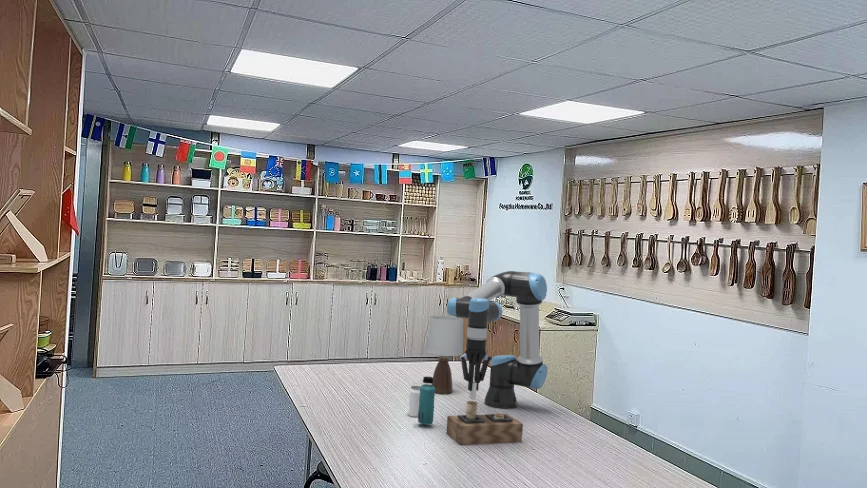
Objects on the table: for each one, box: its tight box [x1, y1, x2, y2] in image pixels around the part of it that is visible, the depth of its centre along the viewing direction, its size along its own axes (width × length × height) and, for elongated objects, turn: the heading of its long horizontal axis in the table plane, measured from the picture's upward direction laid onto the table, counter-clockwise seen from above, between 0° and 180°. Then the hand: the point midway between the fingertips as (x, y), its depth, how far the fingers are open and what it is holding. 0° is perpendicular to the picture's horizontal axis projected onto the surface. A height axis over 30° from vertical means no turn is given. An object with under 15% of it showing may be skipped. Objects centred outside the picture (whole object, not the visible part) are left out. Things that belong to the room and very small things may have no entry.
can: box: [407, 385, 421, 418], centre depth 281 cm, size 6×6×12 cm
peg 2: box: [493, 413, 504, 419], centre depth 258 cm, size 4×4×8 cm
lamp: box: [425, 315, 464, 395], centre depth 327 cm, size 19×19×37 cm
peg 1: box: [465, 400, 478, 420], centre depth 254 cm, size 4×4×8 cm
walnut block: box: [445, 413, 524, 446], centre depth 256 cm, size 26×14×8 cm, turn 110°
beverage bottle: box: [417, 376, 436, 425], centre depth 267 cm, size 6×7×20 cm
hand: (472, 398), depth 254 cm, fingers closed
